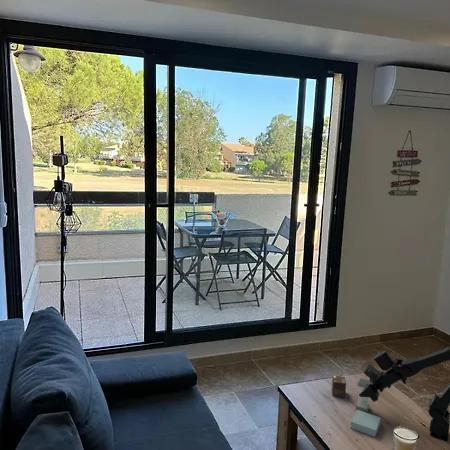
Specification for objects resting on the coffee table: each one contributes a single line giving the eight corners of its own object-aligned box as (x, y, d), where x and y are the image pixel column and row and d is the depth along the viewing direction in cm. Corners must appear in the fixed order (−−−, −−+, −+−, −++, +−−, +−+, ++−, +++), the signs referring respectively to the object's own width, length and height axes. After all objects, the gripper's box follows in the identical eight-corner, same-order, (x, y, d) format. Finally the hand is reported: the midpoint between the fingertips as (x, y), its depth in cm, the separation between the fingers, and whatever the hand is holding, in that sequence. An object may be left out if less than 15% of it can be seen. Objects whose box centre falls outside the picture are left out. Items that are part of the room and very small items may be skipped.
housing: (369, 408, 186) (372, 381, 184) (367, 413, 182) (369, 386, 180) (358, 404, 188) (360, 378, 186) (355, 409, 184) (358, 382, 182)
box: (345, 398, 193) (346, 383, 192) (332, 396, 194) (333, 381, 193) (344, 391, 199) (345, 377, 198) (331, 389, 200) (332, 375, 199)
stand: (380, 424, 174) (380, 417, 174) (375, 437, 166) (375, 430, 165) (356, 415, 180) (357, 409, 179) (350, 428, 171) (350, 421, 171)
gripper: (380, 354, 187) (354, 369, 194) (371, 370, 171) (343, 387, 179) (397, 375, 184) (370, 390, 192) (389, 394, 168) (360, 409, 176)
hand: (360, 393), depth 185 cm, fingers closed on housing, 4 cm apart
